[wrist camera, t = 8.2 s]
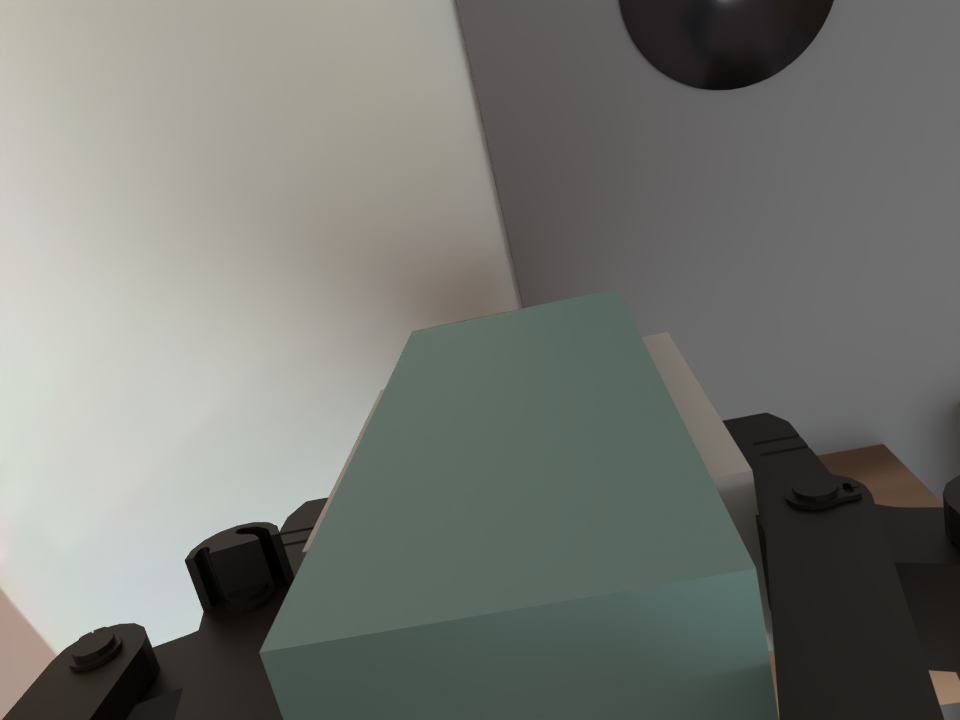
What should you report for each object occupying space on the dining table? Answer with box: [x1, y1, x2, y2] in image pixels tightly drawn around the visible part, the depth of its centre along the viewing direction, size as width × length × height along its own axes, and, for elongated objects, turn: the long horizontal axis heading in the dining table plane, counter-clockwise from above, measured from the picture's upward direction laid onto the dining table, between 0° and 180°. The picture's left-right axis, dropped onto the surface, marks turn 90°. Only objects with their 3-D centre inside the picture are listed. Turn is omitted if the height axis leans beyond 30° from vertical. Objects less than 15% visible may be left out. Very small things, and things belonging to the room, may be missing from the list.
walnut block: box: [769, 444, 960, 716], centre depth 26 cm, size 6×6×5 cm
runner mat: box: [456, 0, 960, 720], centre depth 27 cm, size 34×14×1 cm, turn 13°
